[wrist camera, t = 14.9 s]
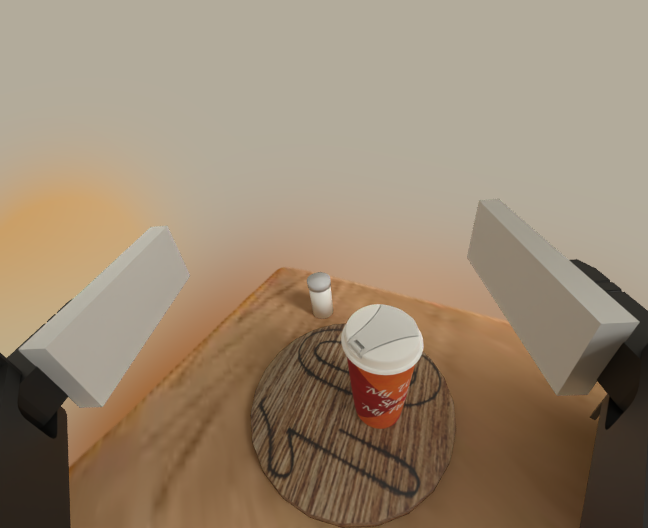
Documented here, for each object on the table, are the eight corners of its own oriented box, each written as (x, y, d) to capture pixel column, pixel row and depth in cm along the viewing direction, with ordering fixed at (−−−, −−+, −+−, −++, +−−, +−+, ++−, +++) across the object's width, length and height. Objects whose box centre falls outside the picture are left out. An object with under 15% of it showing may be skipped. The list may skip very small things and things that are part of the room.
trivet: (446, 587, 25) (449, 582, 24) (212, 470, 34) (206, 463, 33) (457, 352, 43) (460, 344, 42) (304, 317, 52) (302, 310, 51)
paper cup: (374, 454, 32) (378, 383, 23) (334, 398, 37) (324, 323, 29) (425, 411, 35) (444, 335, 26) (381, 365, 40) (385, 289, 32)
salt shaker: (333, 303, 54) (330, 271, 49) (333, 318, 50) (329, 286, 46) (313, 304, 54) (307, 273, 50) (311, 319, 51) (306, 287, 47)
